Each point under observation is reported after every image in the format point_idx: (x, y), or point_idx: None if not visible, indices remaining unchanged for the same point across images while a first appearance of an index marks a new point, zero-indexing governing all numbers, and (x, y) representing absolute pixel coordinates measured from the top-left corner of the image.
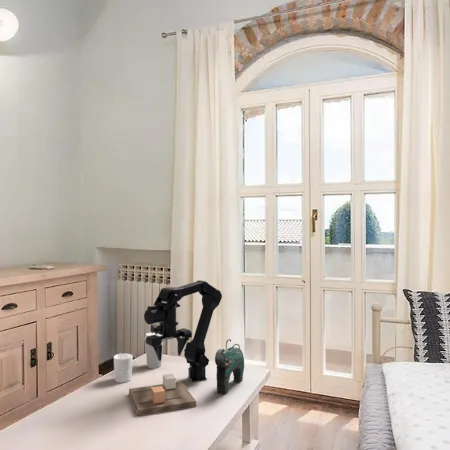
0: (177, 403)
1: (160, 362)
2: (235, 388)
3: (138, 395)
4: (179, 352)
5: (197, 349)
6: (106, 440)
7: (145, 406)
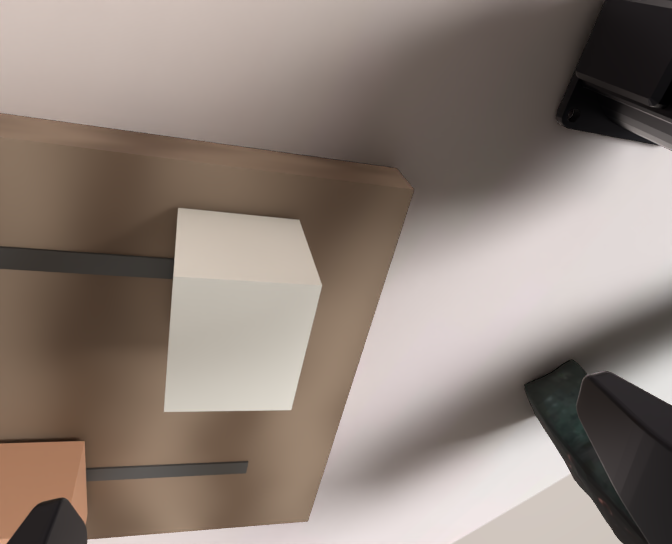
0: (177, 528)
1: None
2: (655, 362)
3: None
4: (622, 480)
5: None
6: None
7: None
